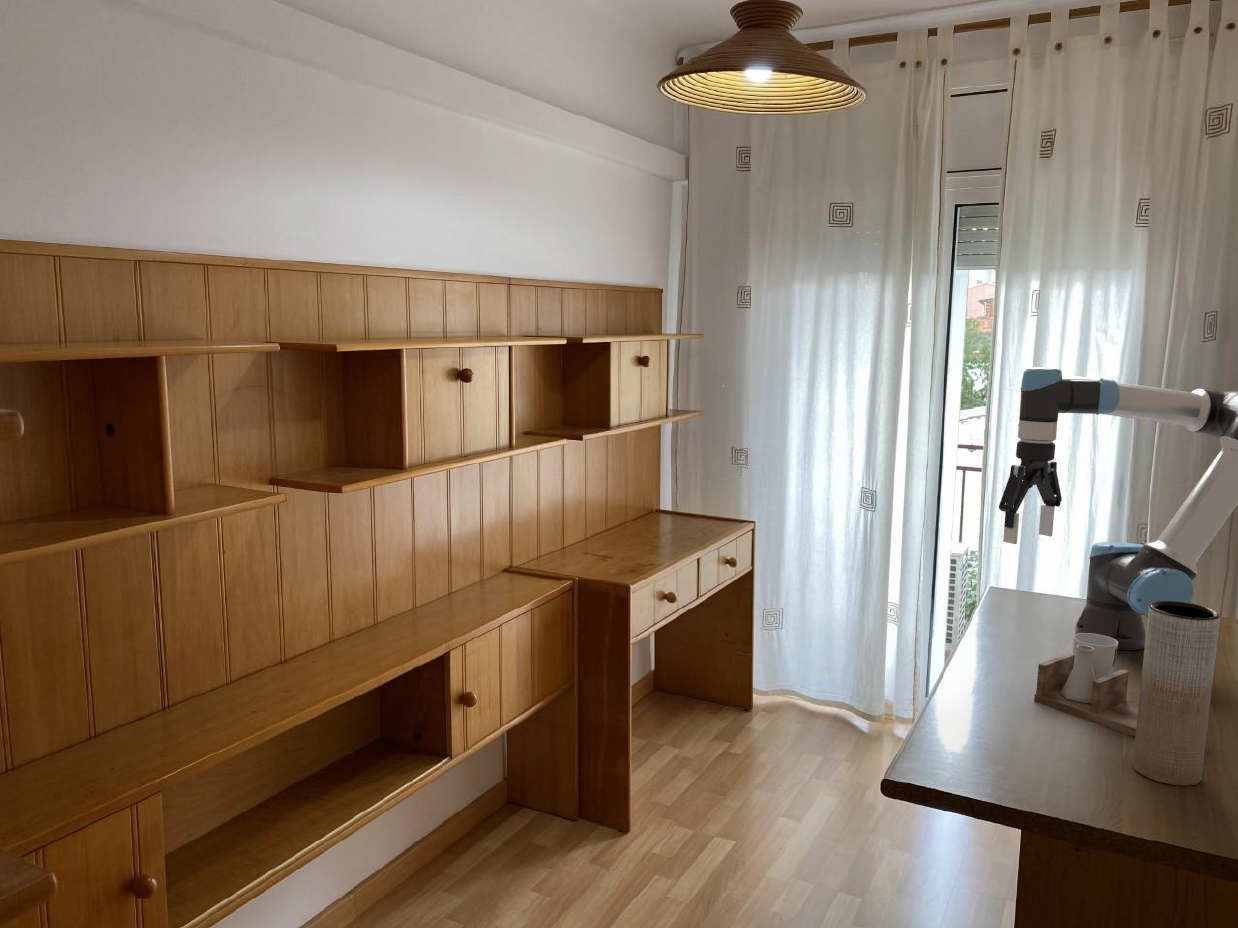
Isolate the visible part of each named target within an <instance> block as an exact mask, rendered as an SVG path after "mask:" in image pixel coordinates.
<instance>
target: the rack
mask: <svg viewBox="0 0 1238 928" xmlns="http://www.w3.org/2000/svg"><path fill="white" fill-rule="evenodd" d="M1074 659H1075V655H1073V653H1066V654H1063V655H1060V656H1058V657H1054V658H1052V659H1049V660H1046V661H1043V662H1040V663H1038V668H1037V669H1038V670H1037V678H1036V679H1037V680H1036V688H1035V690H1036V691H1035V693H1034V697H1033V702H1034V703H1037V704H1040V705H1043V706H1045V707H1048V708H1052V709H1055V710H1057V711H1060V712H1064V713H1065V714H1069V715H1071V716H1074V717H1078V718H1081V719H1083V720H1086V721H1089V722H1090V723H1095V724H1097V725H1100V726H1103V727H1106V728H1109V729H1112V730H1115V731H1117V732H1120V733H1123V734H1126V735H1130V736H1132V737H1134V738H1135V736H1136V726H1137V717H1138V707H1139V703H1136V702H1133V701H1130V700H1127V694H1128V684H1129V677H1130V676H1129V675H1130V671H1129V670H1126V669H1119V670H1117V671H1115V672H1112V674H1109V675H1107V676H1104V677H1102V678H1099V679H1097V680H1094V681H1093V685H1092V695H1091V703H1082V702H1078V701H1074V700H1070V699H1066V698H1065V697H1064V696H1063V695H1062V694H1061V691H1062V689H1063V687H1064V685H1065V683H1066V681H1067V680H1068V678H1069V676H1070V674H1071V672H1072V670H1073V667H1074Z"/></svg>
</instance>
